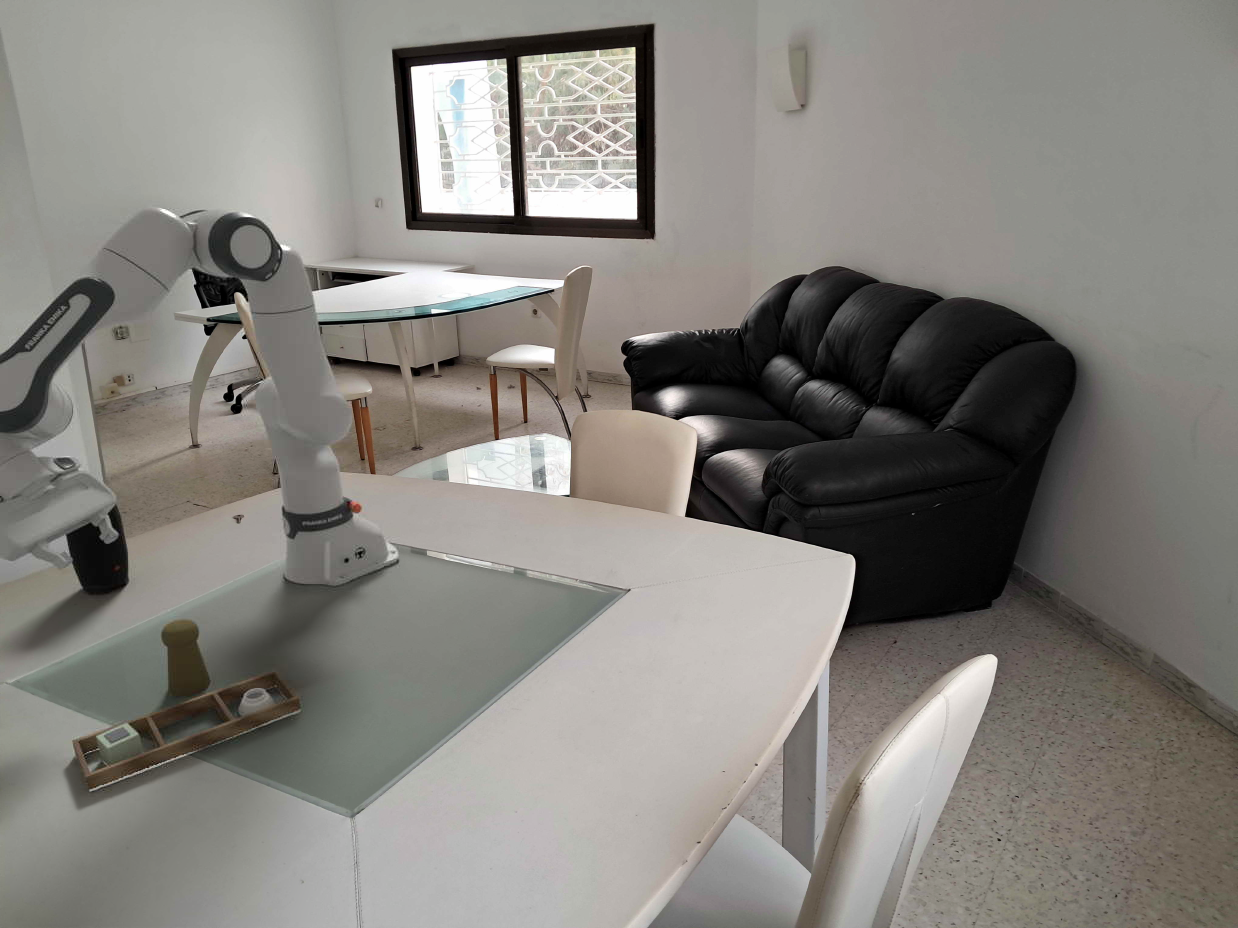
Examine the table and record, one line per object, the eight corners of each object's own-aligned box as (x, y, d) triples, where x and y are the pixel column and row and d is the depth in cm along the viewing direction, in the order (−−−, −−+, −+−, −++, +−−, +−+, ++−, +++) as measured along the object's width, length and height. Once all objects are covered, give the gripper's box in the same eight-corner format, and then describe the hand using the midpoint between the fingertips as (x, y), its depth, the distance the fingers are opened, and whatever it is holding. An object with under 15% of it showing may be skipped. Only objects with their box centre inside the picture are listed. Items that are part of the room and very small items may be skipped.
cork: (194, 698, 134) (182, 635, 130) (159, 694, 135) (147, 631, 131) (218, 677, 139) (208, 616, 136) (185, 672, 140) (174, 612, 137)
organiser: (278, 683, 138) (276, 669, 137) (301, 711, 131) (299, 697, 130) (75, 755, 121) (72, 740, 120) (89, 792, 114) (85, 776, 113)
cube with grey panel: (131, 746, 123) (126, 721, 122) (144, 758, 121) (138, 733, 119) (101, 760, 120) (95, 735, 119) (113, 773, 118) (107, 747, 116)
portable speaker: (138, 585, 169) (120, 491, 162) (84, 601, 163) (62, 504, 156) (126, 570, 175) (108, 479, 168) (73, 585, 169) (52, 491, 162)
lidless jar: (281, 709, 132) (263, 696, 135) (279, 692, 131) (261, 680, 134) (250, 724, 128) (232, 711, 131) (247, 707, 127) (230, 694, 130)
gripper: (-30, 498, 119) (46, 569, 121) (82, 452, 139) (147, 515, 140) (-51, 525, 122) (25, 595, 123) (63, 477, 141) (127, 538, 142)
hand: (91, 552), depth 132 cm, fingers open, 8 cm apart
